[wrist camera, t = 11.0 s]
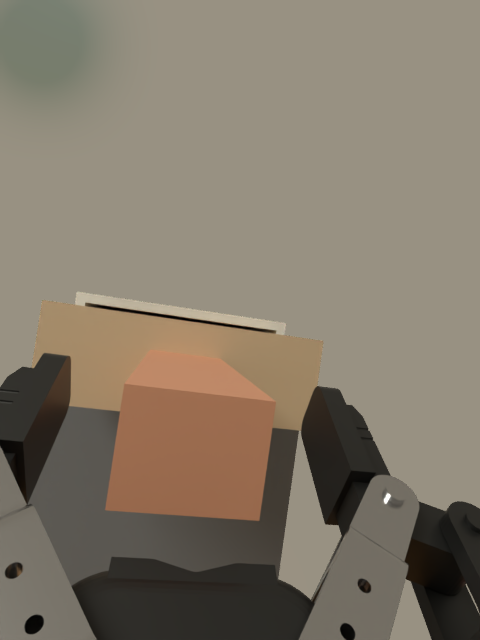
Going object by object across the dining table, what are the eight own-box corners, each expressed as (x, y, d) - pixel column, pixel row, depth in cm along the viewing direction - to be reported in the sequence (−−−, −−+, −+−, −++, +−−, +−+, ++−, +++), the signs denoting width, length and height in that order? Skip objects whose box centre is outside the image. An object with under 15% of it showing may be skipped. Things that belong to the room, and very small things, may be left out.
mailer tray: (-170, 509, 7) (-130, 271, 7) (90, 365, 29) (99, 309, 29) (456, 548, 9) (481, 361, 9) (253, 386, 31) (261, 332, 31)
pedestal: (-48, 869, 25) (29, 380, 26) (30, 673, 39) (79, 360, 40) (240, 850, 28) (301, 412, 29) (217, 674, 42) (259, 382, 42)
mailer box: (62, 384, 26) (77, 291, 26) (100, 362, 40) (109, 301, 40) (273, 408, 28) (286, 323, 28) (240, 380, 42) (248, 322, 42)
